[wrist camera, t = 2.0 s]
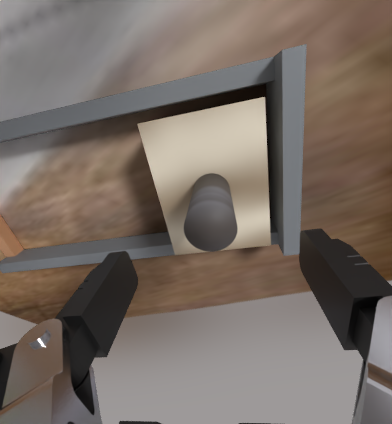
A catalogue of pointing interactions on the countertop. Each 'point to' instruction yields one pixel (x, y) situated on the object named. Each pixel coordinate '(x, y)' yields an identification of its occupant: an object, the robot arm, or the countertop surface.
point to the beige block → (212, 176)
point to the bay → (168, 95)
